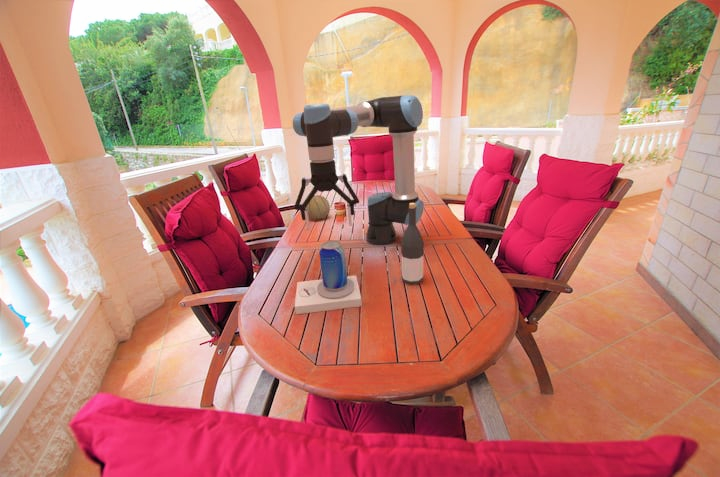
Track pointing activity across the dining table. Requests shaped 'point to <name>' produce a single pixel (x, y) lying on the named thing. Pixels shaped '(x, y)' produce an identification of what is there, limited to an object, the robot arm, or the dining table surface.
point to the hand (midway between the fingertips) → (329, 226)
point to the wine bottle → (412, 251)
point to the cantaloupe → (318, 207)
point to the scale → (326, 296)
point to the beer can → (333, 265)
